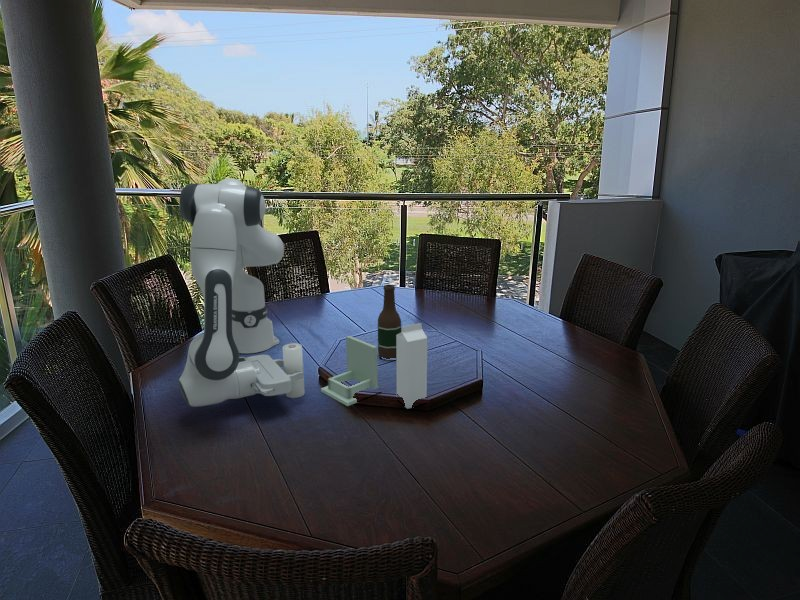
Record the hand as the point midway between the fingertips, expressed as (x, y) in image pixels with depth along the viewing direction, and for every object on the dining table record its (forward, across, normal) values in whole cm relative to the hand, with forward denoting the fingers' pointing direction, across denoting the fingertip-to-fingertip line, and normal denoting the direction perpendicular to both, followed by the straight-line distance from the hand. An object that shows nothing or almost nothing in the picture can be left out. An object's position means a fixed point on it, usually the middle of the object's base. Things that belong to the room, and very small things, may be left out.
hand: (296, 368), depth 148 cm
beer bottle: (+35, +10, +8) cm, 37 cm away
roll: (-1, 0, +8) cm, 8 cm away
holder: (+13, -7, +8) cm, 17 cm away
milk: (+24, -21, +8) cm, 33 cm away
